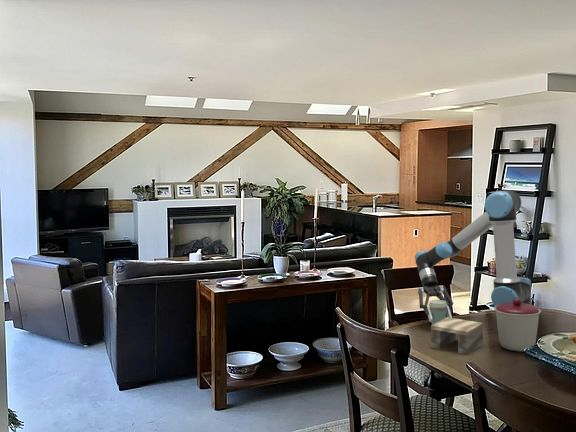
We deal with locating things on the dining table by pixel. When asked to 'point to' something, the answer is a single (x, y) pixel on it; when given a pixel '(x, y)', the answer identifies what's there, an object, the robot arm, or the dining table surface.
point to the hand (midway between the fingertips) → (440, 319)
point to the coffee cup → (438, 310)
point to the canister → (517, 324)
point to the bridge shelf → (466, 330)
